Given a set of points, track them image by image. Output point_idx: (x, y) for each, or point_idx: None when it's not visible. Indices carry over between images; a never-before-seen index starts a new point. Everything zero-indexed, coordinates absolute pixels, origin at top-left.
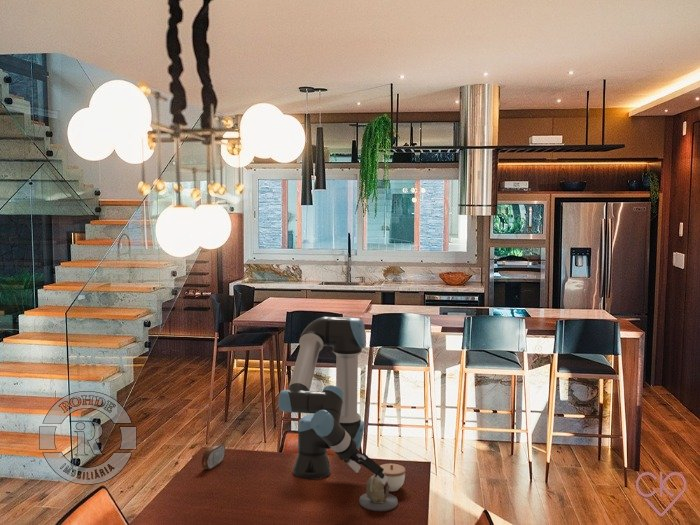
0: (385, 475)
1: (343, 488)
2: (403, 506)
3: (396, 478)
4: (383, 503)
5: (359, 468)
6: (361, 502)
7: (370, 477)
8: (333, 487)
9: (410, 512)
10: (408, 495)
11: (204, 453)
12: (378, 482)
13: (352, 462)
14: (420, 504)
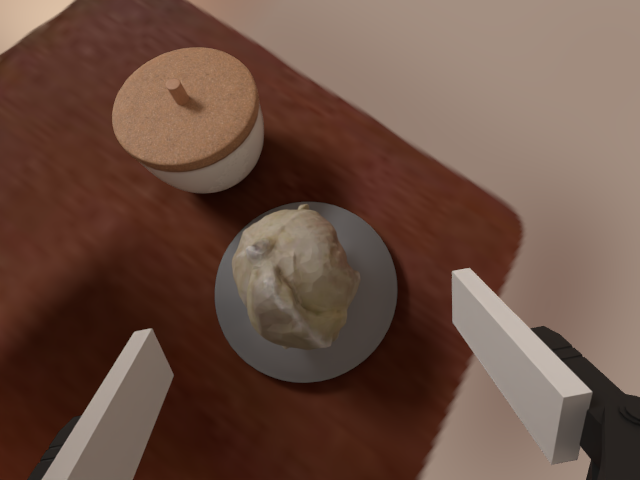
0: (492, 294)
1: (85, 340)
2: (389, 215)
3: (256, 131)
4: None
5: (157, 349)
6: (286, 378)
7: (262, 303)
8: (42, 378)
9: (453, 223)
10: (313, 143)
11: None
12: (325, 282)
13: (105, 469)
14: (405, 150)
